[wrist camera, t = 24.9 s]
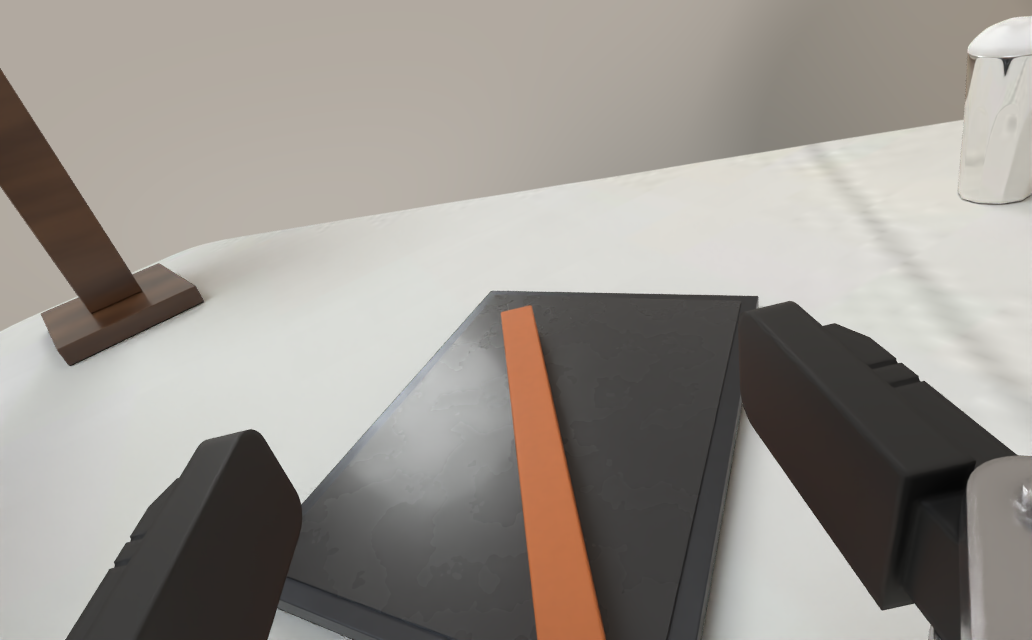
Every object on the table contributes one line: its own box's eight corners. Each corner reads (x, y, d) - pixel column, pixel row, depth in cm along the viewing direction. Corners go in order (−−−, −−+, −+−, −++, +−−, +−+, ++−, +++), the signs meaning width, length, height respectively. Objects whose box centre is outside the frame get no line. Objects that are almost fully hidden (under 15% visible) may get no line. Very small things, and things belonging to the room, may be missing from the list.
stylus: (625, 728, 13) (616, 693, 12) (557, 742, 13) (544, 708, 12) (535, 317, 30) (528, 291, 29) (505, 324, 30) (498, 298, 29)
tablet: (678, 775, 13) (674, 757, 12) (243, 594, 20) (231, 578, 19) (758, 309, 27) (758, 293, 27) (494, 301, 34) (490, 288, 34)
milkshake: (1011, 220, 29) (1062, 5, 24) (924, 194, 34) (951, 9, 29) (1087, 196, 29) (1153, -21, 24) (990, 173, 34) (1029, -13, 29)
